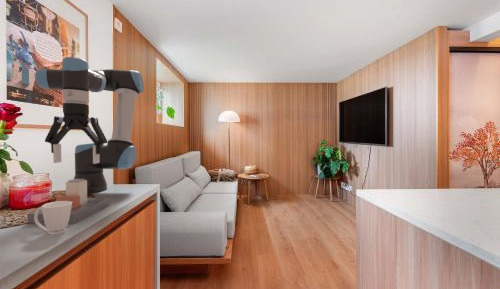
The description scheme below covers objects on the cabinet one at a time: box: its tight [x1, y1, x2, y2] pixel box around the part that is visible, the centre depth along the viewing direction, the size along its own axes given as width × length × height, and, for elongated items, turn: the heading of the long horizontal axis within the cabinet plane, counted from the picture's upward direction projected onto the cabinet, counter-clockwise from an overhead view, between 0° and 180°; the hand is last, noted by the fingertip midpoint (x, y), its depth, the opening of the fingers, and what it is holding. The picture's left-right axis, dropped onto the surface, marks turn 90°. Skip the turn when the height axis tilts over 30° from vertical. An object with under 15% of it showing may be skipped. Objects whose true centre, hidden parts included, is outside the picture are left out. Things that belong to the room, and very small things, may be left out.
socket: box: [26, 197, 109, 225], centre depth 86 cm, size 20×14×3 cm
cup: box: [34, 200, 72, 236], centre depth 70 cm, size 7×10×8 cm
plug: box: [65, 178, 88, 205], centre depth 88 cm, size 4×4×12 cm
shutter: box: [55, 195, 81, 210], centre depth 81 cm, size 7×7×4 cm
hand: (77, 162), depth 88 cm, fingers open, 13 cm apart
